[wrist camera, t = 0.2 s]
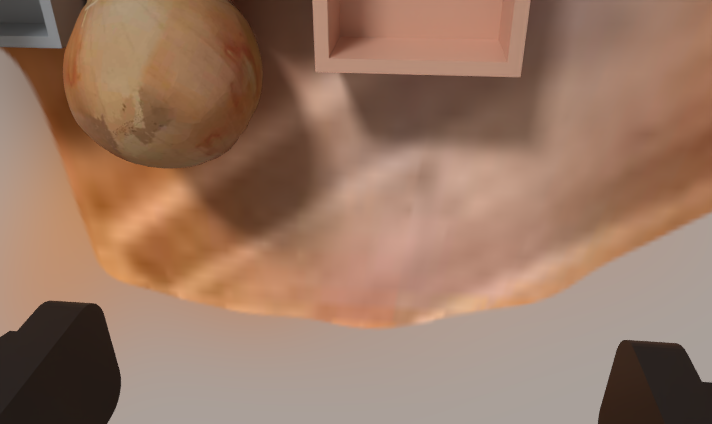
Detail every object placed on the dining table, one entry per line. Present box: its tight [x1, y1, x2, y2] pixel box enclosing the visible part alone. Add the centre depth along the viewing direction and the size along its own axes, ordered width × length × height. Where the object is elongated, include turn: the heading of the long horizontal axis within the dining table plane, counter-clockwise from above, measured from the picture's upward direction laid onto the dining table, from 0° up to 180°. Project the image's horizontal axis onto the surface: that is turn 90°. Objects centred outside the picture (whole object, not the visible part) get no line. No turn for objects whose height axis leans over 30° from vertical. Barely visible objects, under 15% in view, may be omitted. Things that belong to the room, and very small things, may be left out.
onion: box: [63, 0, 263, 168], centre depth 31 cm, size 10×10×10 cm
